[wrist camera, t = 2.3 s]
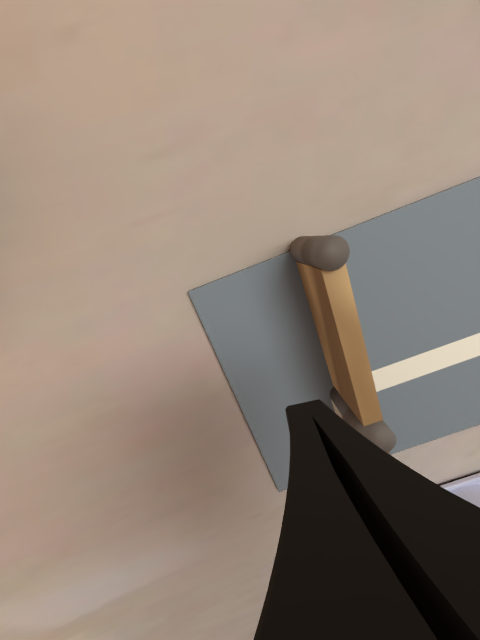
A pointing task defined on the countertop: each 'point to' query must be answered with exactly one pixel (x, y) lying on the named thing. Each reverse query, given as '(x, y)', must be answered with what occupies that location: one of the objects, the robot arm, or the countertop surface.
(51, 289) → the countertop surface
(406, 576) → the robot arm
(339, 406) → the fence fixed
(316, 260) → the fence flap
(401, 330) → the mat
